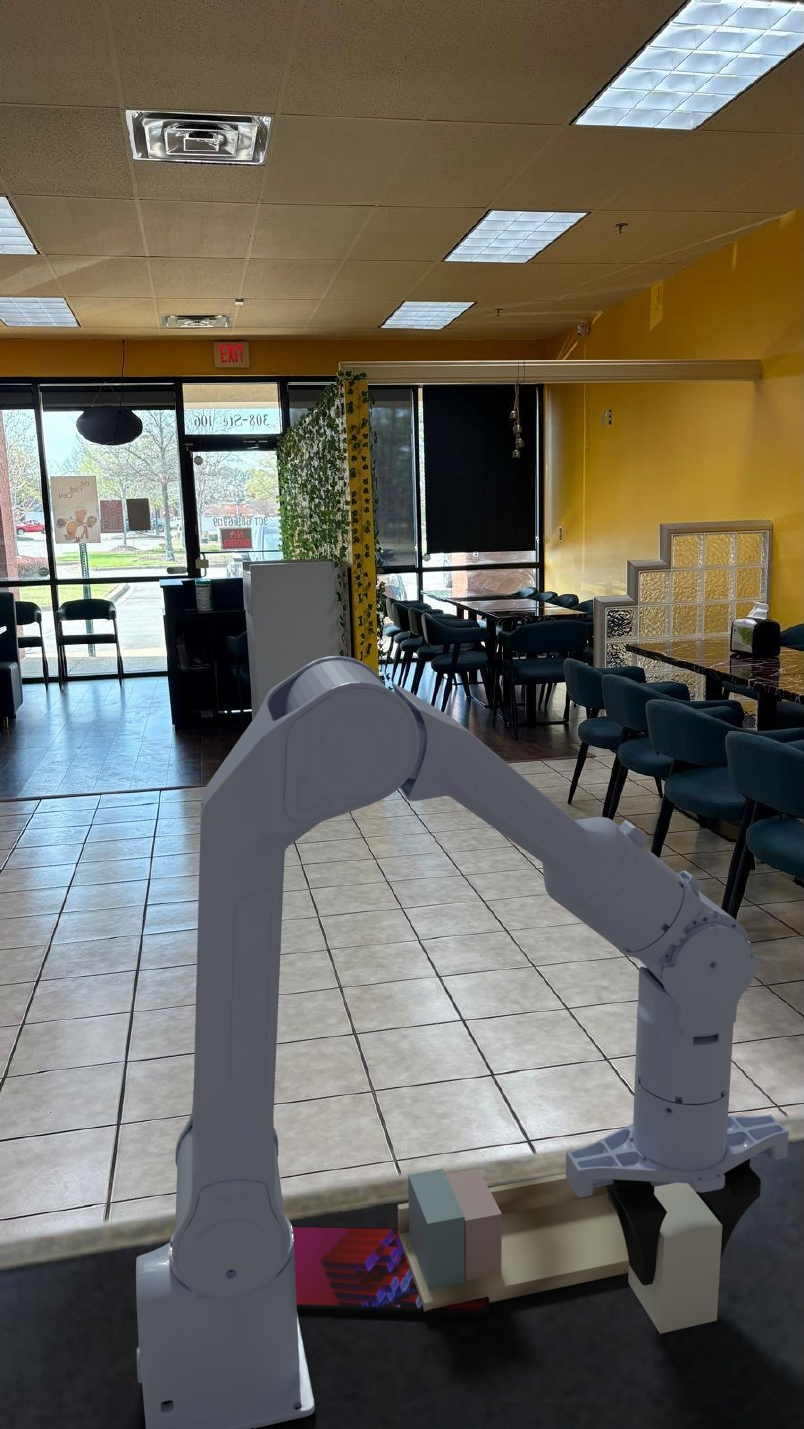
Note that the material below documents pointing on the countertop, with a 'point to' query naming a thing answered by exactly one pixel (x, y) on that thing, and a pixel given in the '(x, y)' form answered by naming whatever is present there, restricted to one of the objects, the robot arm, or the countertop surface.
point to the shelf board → (537, 1243)
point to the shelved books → (454, 1227)
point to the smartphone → (362, 1275)
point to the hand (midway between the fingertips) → (673, 1266)
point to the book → (683, 1263)
